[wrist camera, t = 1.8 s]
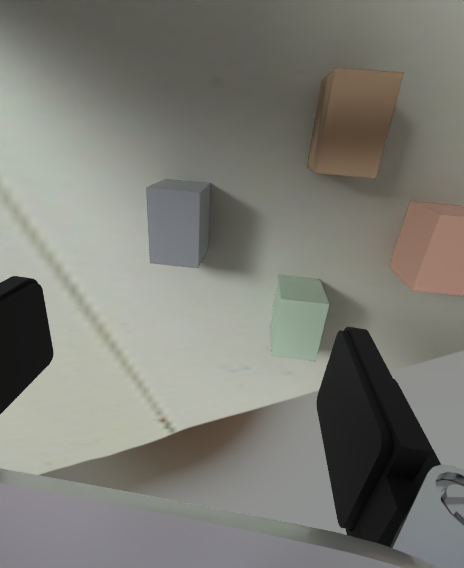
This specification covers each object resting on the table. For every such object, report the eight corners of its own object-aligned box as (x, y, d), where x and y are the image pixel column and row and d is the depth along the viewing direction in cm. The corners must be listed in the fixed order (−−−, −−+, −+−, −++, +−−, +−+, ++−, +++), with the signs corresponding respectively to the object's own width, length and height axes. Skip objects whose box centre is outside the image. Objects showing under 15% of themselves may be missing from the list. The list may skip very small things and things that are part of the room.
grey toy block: (165, 179, 27) (146, 187, 23) (210, 183, 27) (200, 192, 22) (167, 243, 30) (150, 263, 25) (208, 248, 29) (198, 268, 25)
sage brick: (278, 274, 30) (280, 299, 26) (319, 278, 30) (329, 304, 25) (270, 325, 33) (271, 356, 28) (308, 330, 32) (315, 361, 28)
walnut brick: (321, 81, 23) (335, 67, 18) (376, 85, 23) (403, 72, 18) (307, 166, 26) (316, 173, 21) (355, 170, 25) (375, 178, 21)
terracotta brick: (409, 200, 26) (440, 214, 22) (458, 205, 26) (499, 220, 21) (388, 266, 29) (411, 290, 24) (432, 270, 28) (464, 296, 24)
